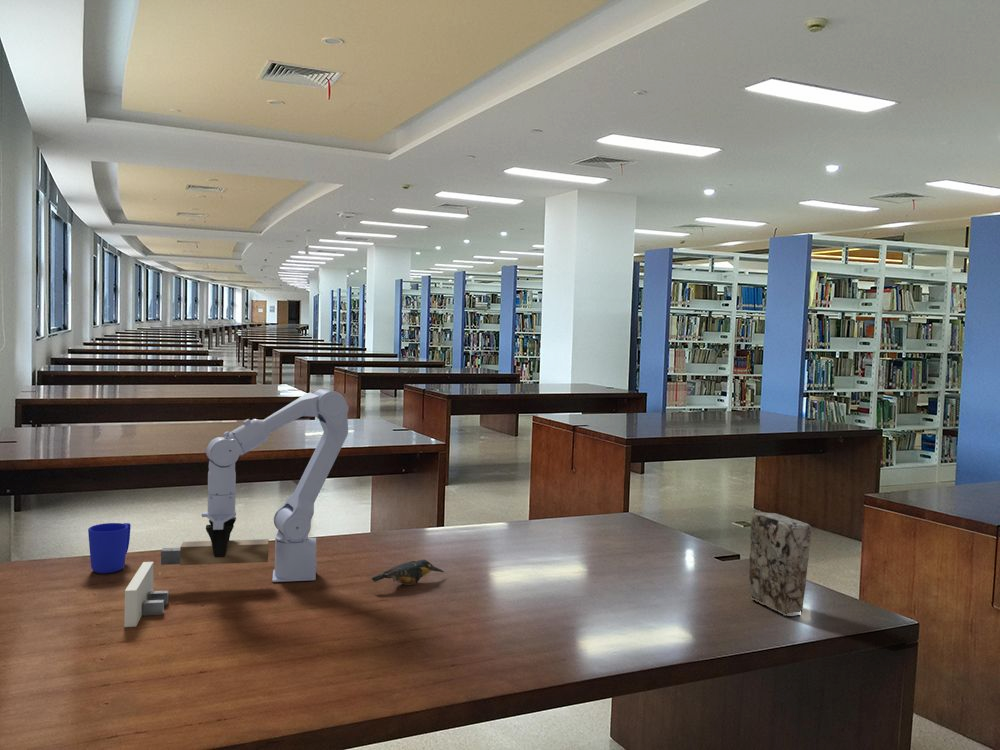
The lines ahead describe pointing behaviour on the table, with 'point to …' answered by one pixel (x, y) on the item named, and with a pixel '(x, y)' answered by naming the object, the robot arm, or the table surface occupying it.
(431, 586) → the table surface
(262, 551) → the walnut rail
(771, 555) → the stone block
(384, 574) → the bird model
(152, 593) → the post
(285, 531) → the robot arm
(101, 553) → the mug
